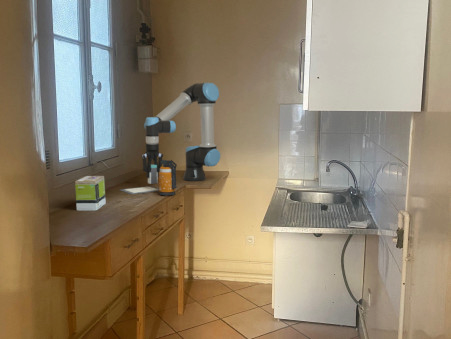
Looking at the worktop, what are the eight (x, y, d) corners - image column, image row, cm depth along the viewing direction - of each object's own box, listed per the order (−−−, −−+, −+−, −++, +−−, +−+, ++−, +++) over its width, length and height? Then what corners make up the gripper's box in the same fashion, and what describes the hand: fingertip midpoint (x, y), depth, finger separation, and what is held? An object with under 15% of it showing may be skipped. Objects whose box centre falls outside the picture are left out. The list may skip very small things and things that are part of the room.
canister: (166, 192, 255) (166, 158, 252) (181, 194, 248) (180, 159, 245) (155, 195, 247) (155, 159, 245) (170, 197, 241) (169, 161, 238)
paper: (149, 186, 274) (149, 185, 274) (162, 190, 261) (162, 189, 261) (119, 190, 262) (119, 189, 262) (131, 194, 249) (131, 193, 249)
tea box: (86, 203, 224) (85, 175, 222) (106, 204, 224) (105, 175, 222) (75, 210, 210) (74, 180, 208) (96, 210, 209) (95, 180, 207)
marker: (153, 182, 264) (153, 164, 262) (156, 183, 261) (156, 165, 259) (148, 183, 261) (148, 164, 260) (151, 184, 259) (151, 165, 257)
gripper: (142, 144, 250) (142, 185, 253) (167, 143, 260) (168, 182, 263) (136, 143, 256) (137, 183, 259) (161, 142, 266) (161, 180, 269)
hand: (152, 182), depth 261 cm, fingers closed on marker, 4 cm apart
